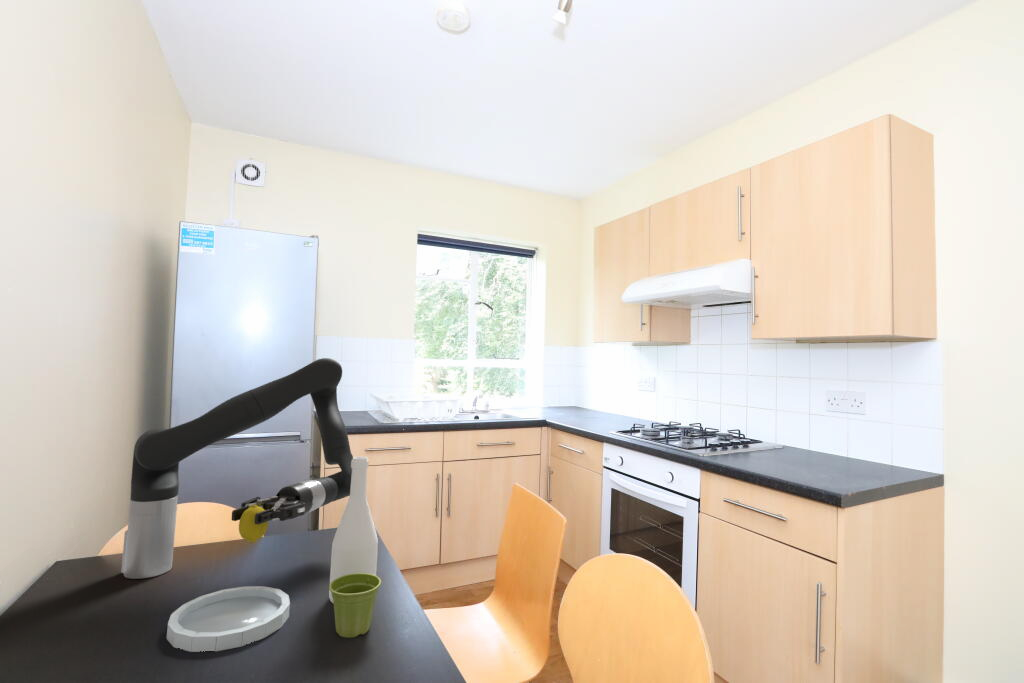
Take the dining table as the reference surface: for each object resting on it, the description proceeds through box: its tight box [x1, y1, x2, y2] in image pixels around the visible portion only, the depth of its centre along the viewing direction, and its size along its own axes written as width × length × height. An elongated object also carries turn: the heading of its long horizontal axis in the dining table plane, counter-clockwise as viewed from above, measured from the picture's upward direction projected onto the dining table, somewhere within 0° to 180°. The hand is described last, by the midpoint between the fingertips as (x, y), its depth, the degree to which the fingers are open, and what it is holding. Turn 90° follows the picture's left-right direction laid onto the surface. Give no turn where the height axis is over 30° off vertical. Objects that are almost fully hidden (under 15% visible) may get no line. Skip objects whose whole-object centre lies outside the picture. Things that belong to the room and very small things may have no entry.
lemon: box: [238, 505, 269, 544], centre depth 104 cm, size 6×6×8 cm
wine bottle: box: [328, 456, 379, 605], centre depth 106 cm, size 10×10×30 cm
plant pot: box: [328, 573, 382, 639], centre depth 93 cm, size 9×9×9 cm
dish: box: [166, 585, 291, 653], centre depth 93 cm, size 20×20×2 cm
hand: (244, 517), depth 101 cm, fingers closed on lemon, 5 cm apart
